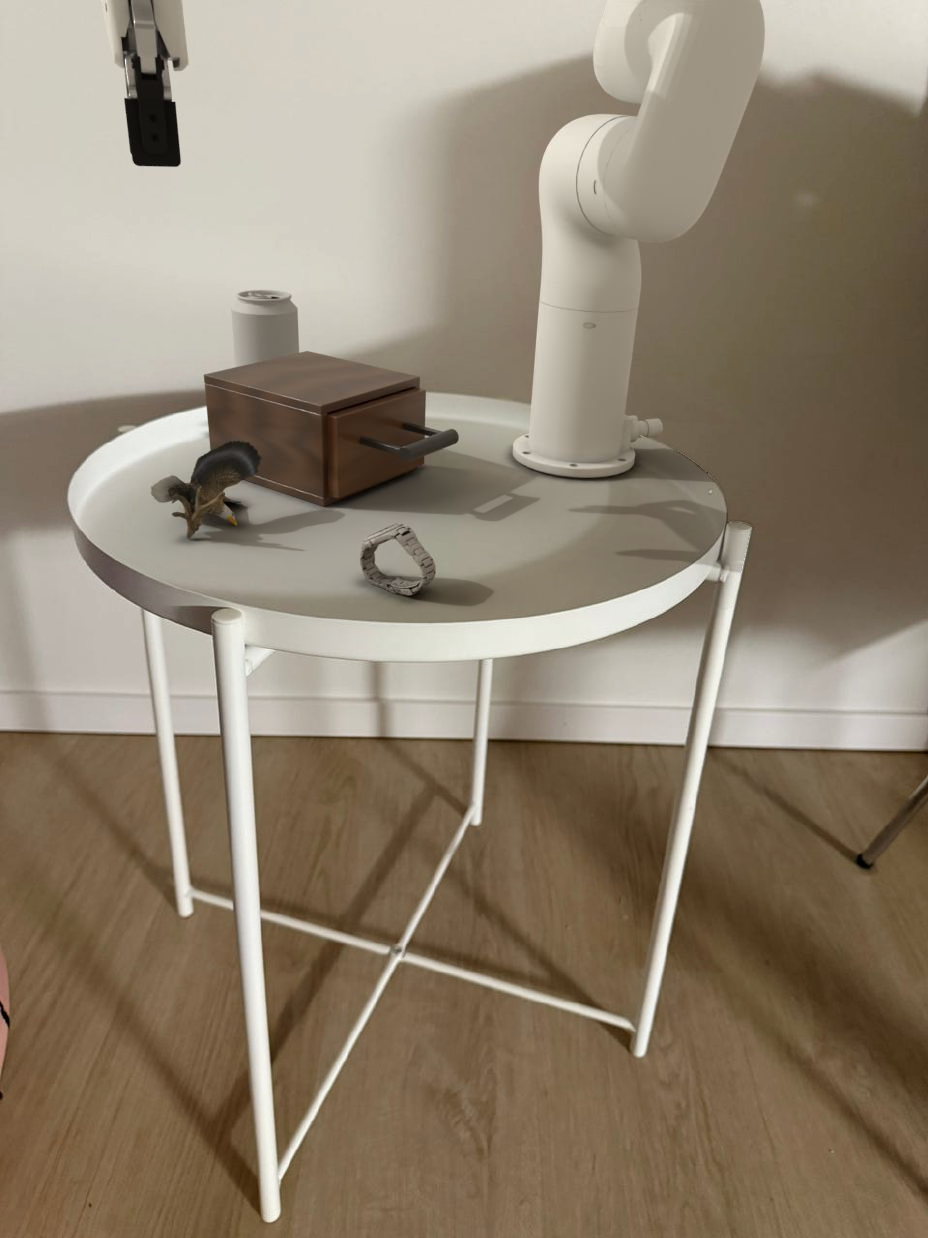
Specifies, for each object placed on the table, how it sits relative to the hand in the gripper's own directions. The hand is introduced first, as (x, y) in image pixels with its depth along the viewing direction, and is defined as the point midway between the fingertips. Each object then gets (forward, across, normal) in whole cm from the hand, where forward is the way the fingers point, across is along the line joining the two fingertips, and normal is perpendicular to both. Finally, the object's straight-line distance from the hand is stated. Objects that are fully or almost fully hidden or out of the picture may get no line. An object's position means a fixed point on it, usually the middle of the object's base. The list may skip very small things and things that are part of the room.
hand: (154, 161), depth 70 cm
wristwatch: (+28, -19, -14) cm, 36 cm away
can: (+28, +34, -11) cm, 45 cm away
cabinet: (+27, +8, -12) cm, 31 cm away
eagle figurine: (+28, -4, -2) cm, 28 cm away
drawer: (+26, +4, -15) cm, 31 cm away
